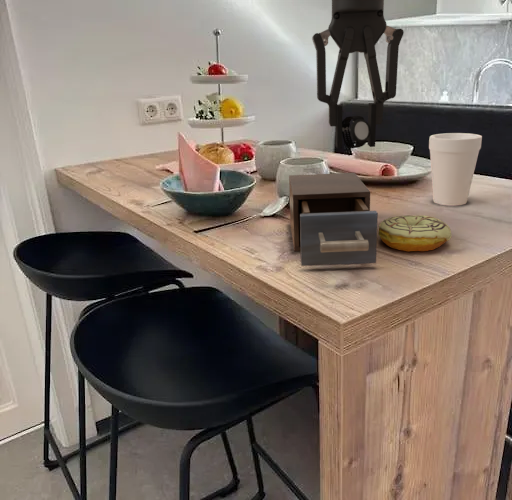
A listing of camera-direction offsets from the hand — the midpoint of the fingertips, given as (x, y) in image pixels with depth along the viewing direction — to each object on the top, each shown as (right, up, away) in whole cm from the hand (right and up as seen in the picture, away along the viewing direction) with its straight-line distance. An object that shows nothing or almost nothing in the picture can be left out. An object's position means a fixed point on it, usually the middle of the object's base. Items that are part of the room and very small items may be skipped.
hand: (354, 145), depth 81 cm
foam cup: (+23, -7, +21) cm, 32 cm away
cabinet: (-4, -14, +4) cm, 15 cm away
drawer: (-4, -18, -7) cm, 19 cm away
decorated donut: (+9, -16, -1) cm, 18 cm away
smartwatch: (0, 0, 0) cm, 1 cm away
